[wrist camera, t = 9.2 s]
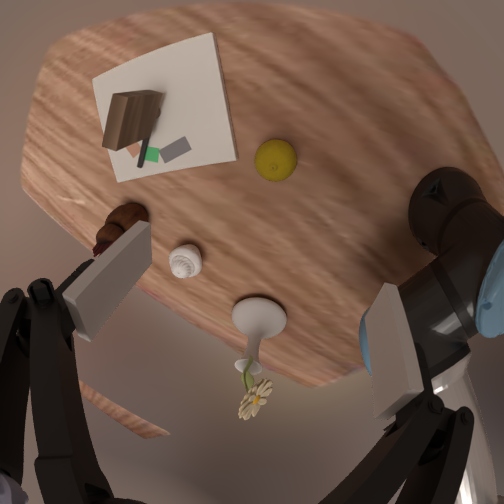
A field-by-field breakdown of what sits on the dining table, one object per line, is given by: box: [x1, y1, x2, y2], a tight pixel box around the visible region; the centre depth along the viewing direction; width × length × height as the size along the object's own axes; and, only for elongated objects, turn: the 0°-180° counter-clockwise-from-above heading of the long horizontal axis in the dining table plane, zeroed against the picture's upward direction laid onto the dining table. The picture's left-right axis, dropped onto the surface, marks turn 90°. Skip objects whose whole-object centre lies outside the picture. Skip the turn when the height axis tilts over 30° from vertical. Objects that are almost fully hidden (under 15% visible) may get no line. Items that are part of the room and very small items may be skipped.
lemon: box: [255, 139, 297, 181], centre depth 35 cm, size 6×6×8 cm
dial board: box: [92, 32, 238, 182], centre depth 36 cm, size 20×22×2 cm
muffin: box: [169, 244, 202, 279], centre depth 48 cm, size 6×6×7 cm
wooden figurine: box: [92, 203, 147, 257], centre depth 42 cm, size 7×6×15 cm
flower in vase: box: [231, 297, 287, 420], centre depth 46 cm, size 13×11×25 cm
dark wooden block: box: [102, 90, 163, 168], centre depth 33 cm, size 2×13×10 cm, turn 158°
